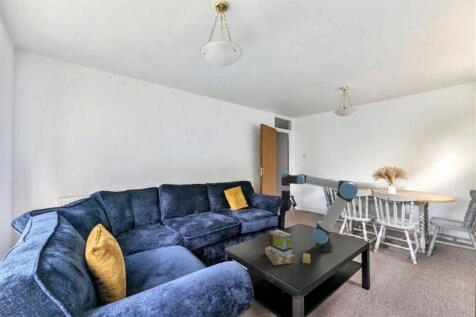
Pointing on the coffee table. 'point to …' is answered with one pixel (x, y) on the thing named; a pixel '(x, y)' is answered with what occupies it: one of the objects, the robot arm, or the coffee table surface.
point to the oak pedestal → (279, 257)
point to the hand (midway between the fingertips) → (285, 214)
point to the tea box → (280, 242)
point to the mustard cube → (306, 258)
